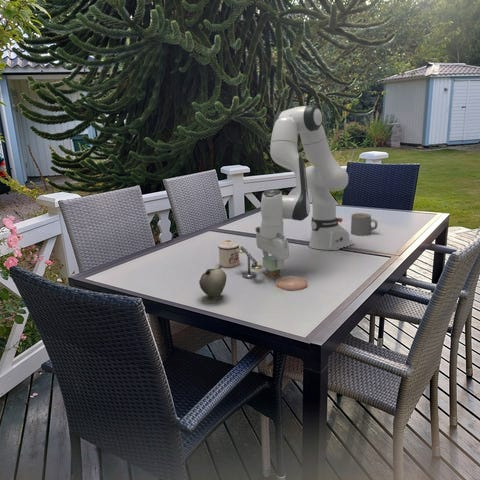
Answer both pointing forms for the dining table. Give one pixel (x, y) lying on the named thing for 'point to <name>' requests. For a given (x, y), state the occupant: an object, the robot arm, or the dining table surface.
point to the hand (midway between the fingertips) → (272, 263)
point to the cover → (271, 263)
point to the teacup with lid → (228, 253)
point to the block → (273, 273)
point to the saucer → (291, 283)
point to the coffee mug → (362, 224)
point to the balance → (254, 265)
